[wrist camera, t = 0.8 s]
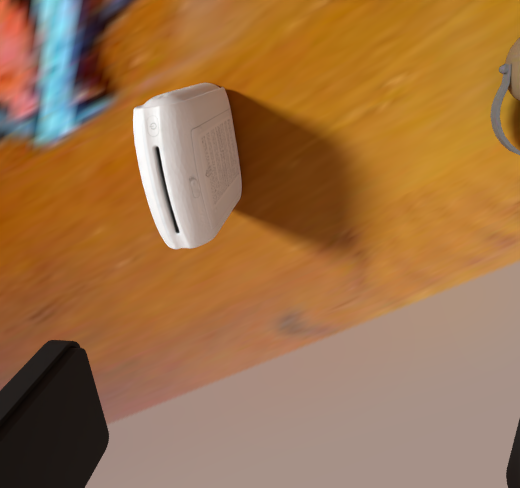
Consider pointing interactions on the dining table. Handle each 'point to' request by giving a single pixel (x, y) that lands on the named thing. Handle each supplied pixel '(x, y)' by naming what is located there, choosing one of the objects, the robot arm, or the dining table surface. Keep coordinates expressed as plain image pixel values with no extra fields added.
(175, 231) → the photo printer
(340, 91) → the dining table surface
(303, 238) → the dining table surface
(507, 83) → the alarm clock
